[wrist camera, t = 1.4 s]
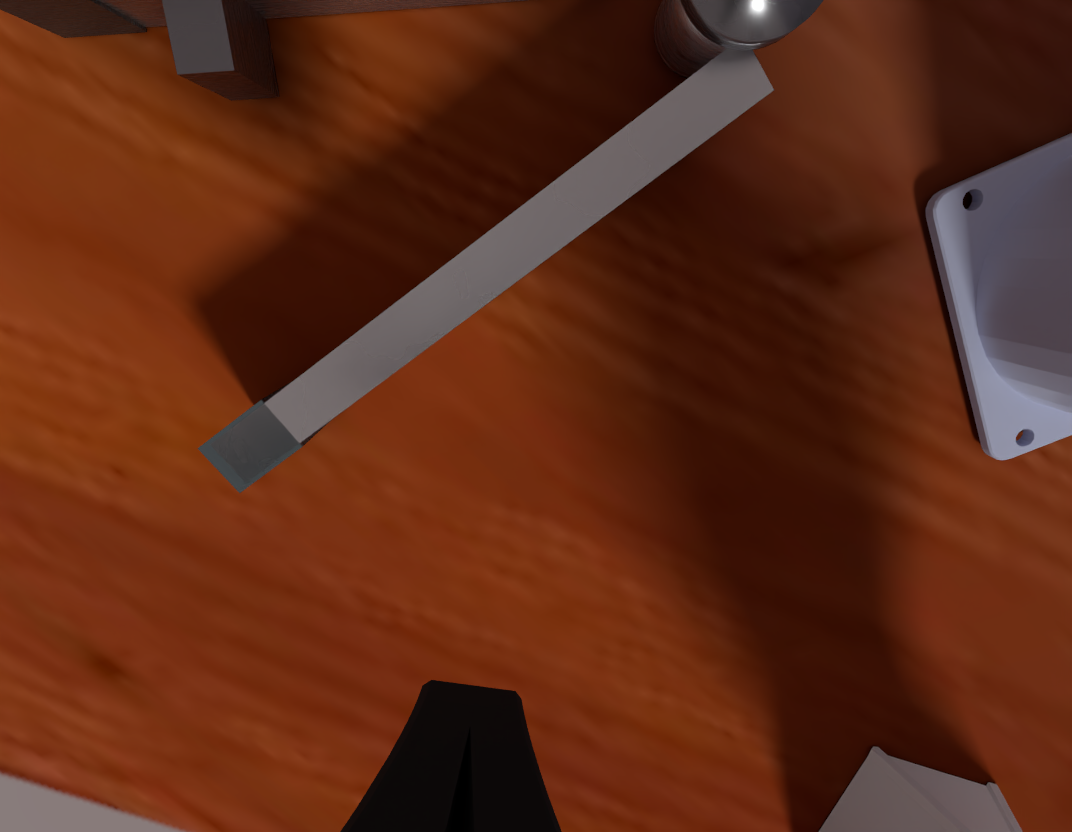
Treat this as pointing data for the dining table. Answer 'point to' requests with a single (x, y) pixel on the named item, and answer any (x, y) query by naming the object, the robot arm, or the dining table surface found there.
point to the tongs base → (245, 3)
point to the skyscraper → (917, 801)
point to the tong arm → (504, 249)
